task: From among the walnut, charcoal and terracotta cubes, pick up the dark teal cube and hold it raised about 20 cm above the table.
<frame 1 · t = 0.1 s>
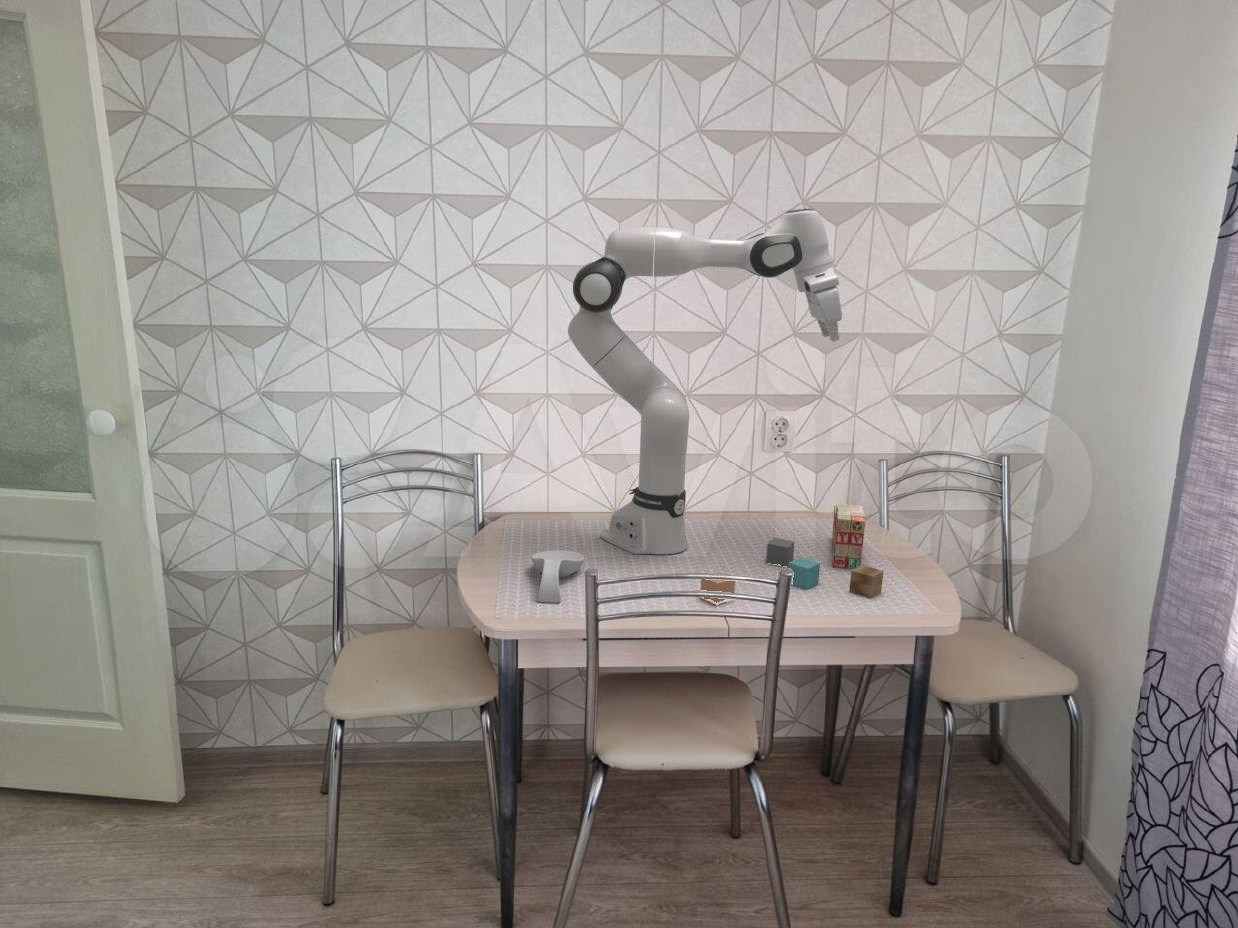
hand: (831, 338, 206), 52 cm above the table, tool tilted 20°, fingers open, 8 cm apart
stack of blocks: (845, 555, 219), on the table
charcoal cube: (779, 562, 211), on the table
terracotta cube: (716, 599, 188), on the table
walnut cube: (865, 592, 195), on the table
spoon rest: (555, 583, 195), on the table
teal cube: (802, 584, 198), on the table
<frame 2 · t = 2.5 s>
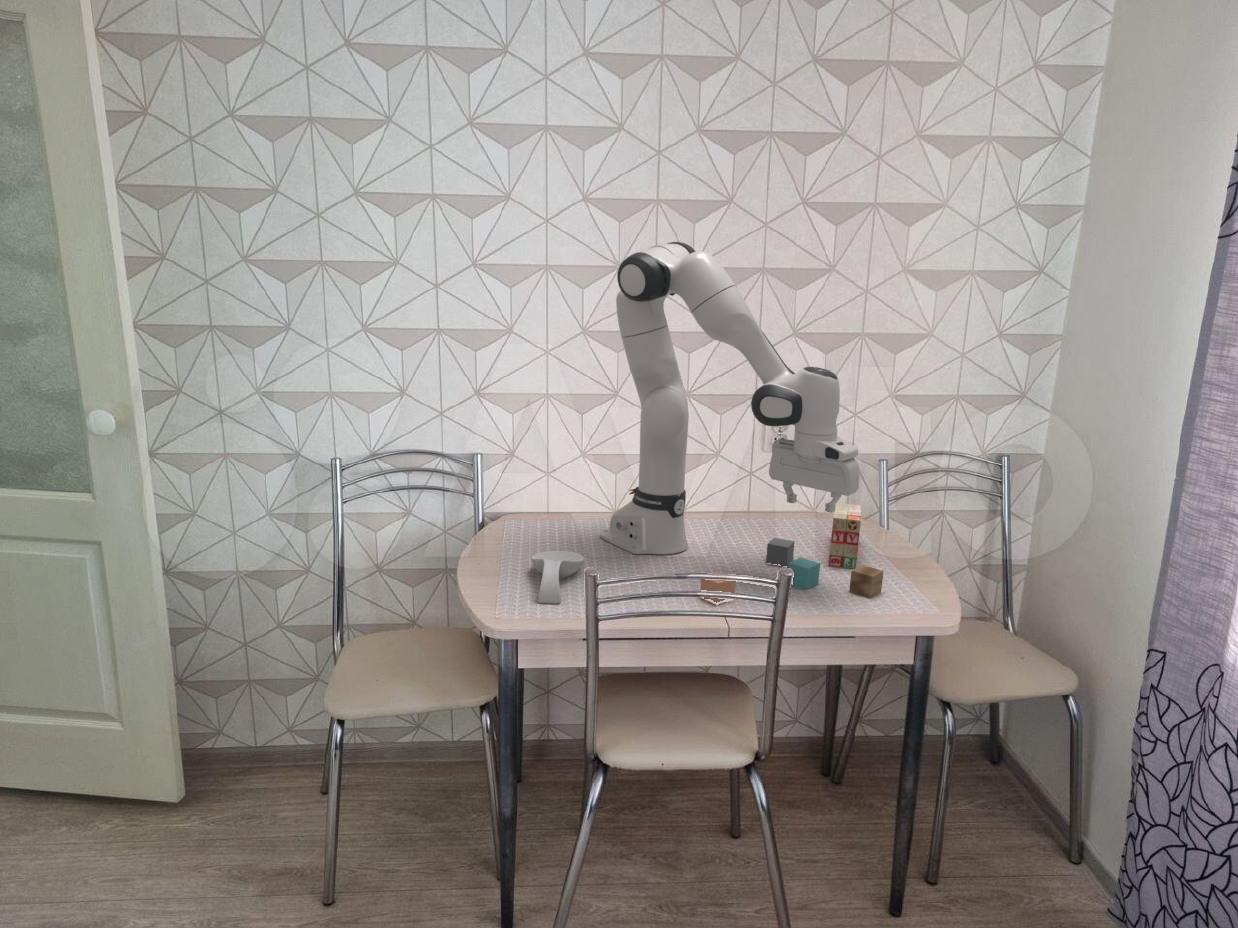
hand: (810, 506, 194), 18 cm above the table, tool pointing down, fingers open, 8 cm apart
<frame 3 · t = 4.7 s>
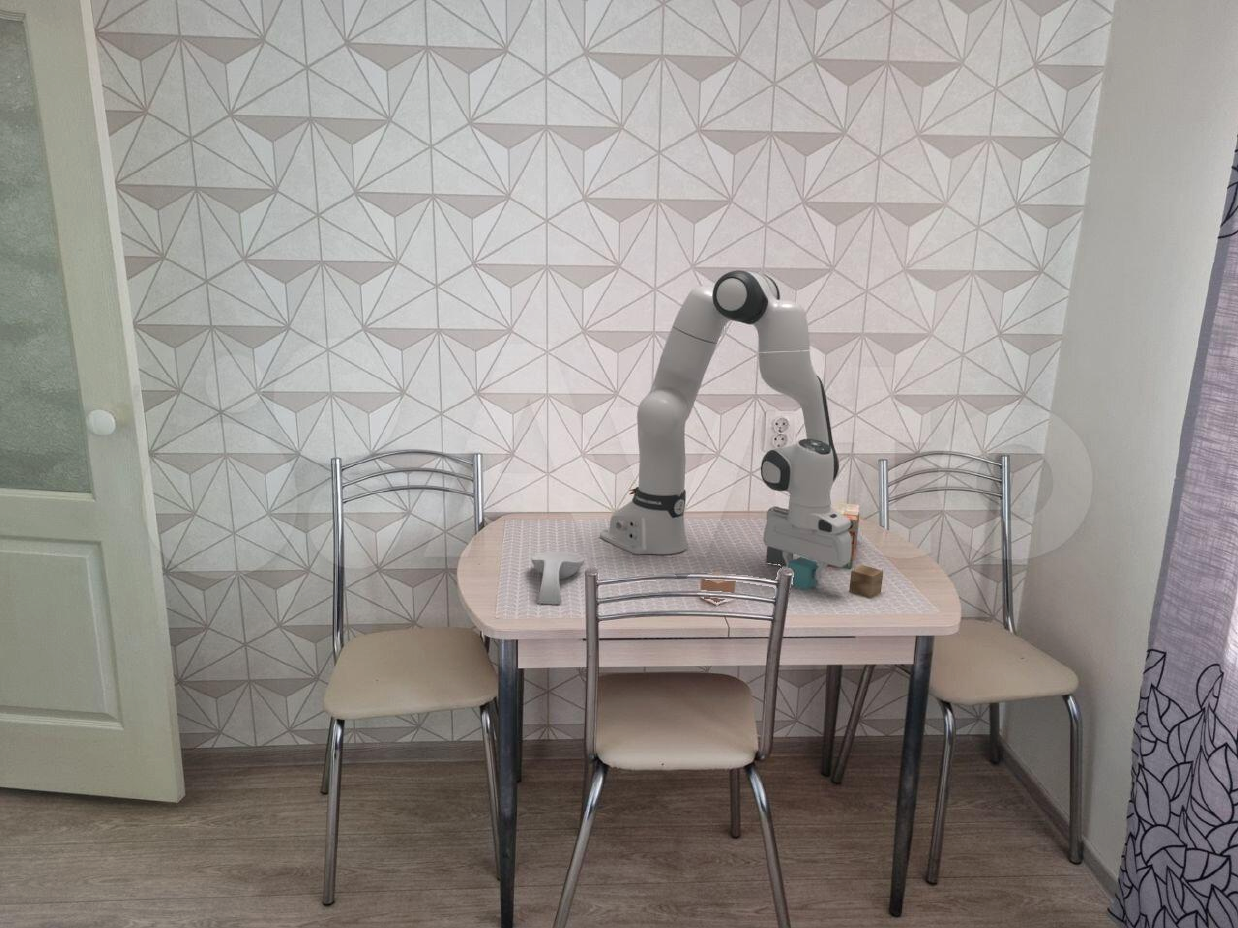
hand: (803, 574, 198), 2 cm above the table, tool pointing down, fingers closed on teal cube, 5 cm apart
teal cube: (802, 583, 198), on the table, touching gripper
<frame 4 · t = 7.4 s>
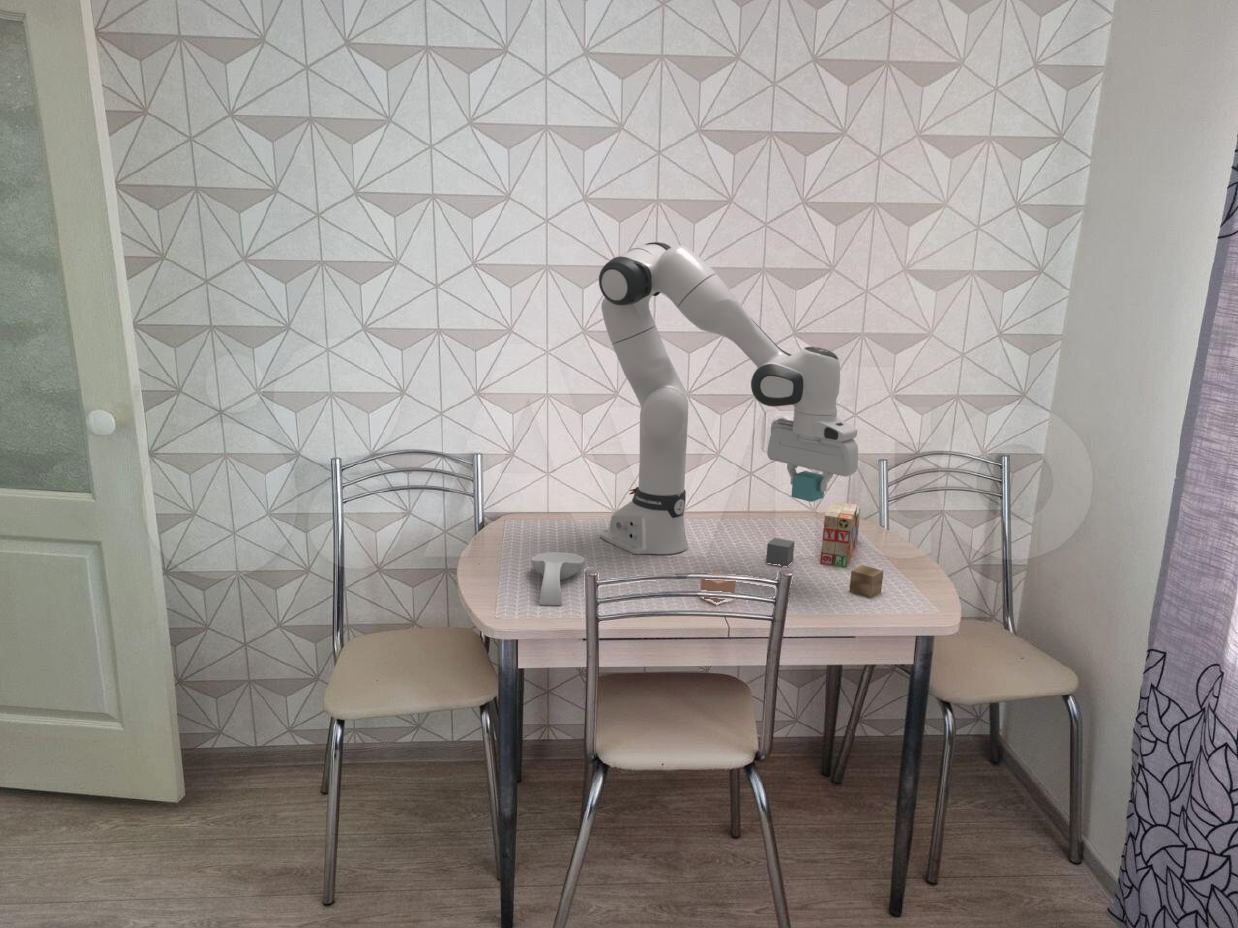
hand: (808, 487, 194), 22 cm above the table, tool pointing down, fingers closed on teal cube, 5 cm apart
teal cube: (807, 497, 194), point 20 cm above the table, touching gripper
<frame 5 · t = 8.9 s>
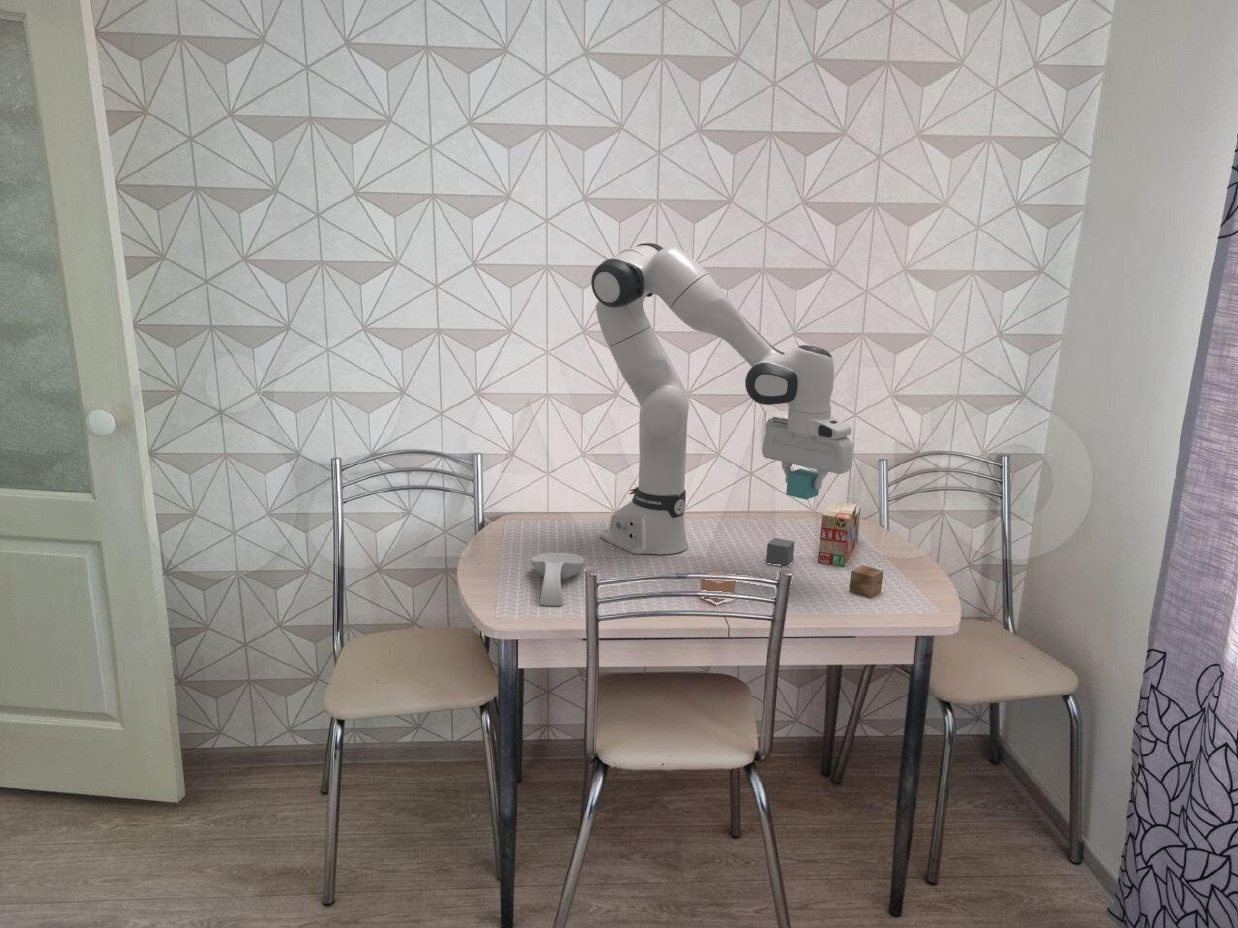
hand: (803, 485, 194), 22 cm above the table, tool pointing down, fingers closed on teal cube, 5 cm apart
teal cube: (802, 494, 195), point 20 cm above the table, touching gripper
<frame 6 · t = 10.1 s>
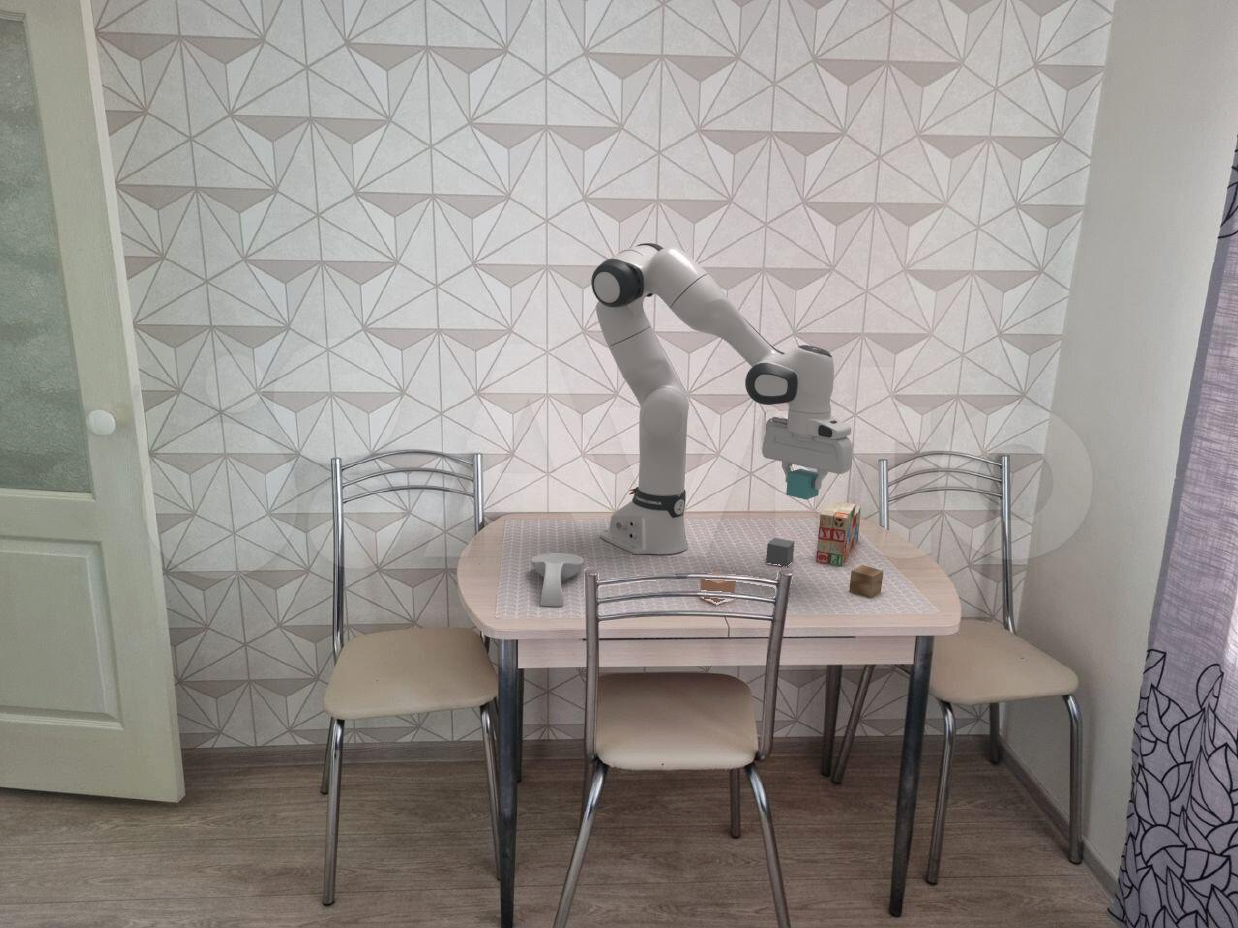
hand: (803, 485, 194), 22 cm above the table, tool pointing down, fingers closed on teal cube, 5 cm apart
teal cube: (802, 494, 195), point 20 cm above the table, touching gripper
at the end: the gripper is holding teal cube; teal cube point 20.0 cm above the table; walnut cube moved 0.1 cm from its start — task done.
